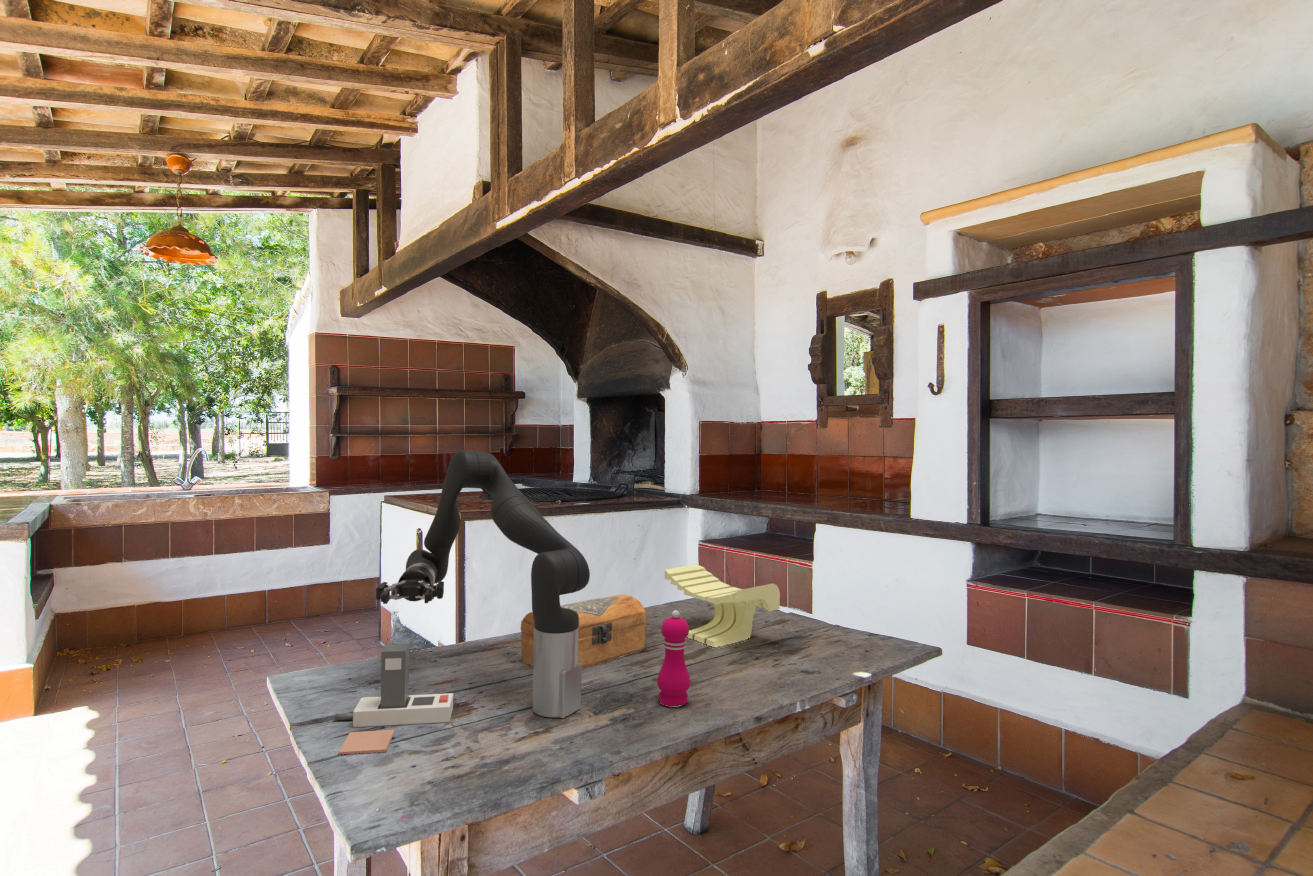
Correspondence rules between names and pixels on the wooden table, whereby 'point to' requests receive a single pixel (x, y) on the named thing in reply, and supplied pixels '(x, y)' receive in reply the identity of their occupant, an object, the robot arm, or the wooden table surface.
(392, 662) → the block
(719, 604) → the slatted curved stool
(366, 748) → the tile coaster
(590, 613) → the wooden box
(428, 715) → the power strip
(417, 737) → the wooden table surface
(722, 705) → the wooden table surface
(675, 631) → the pepper mill
